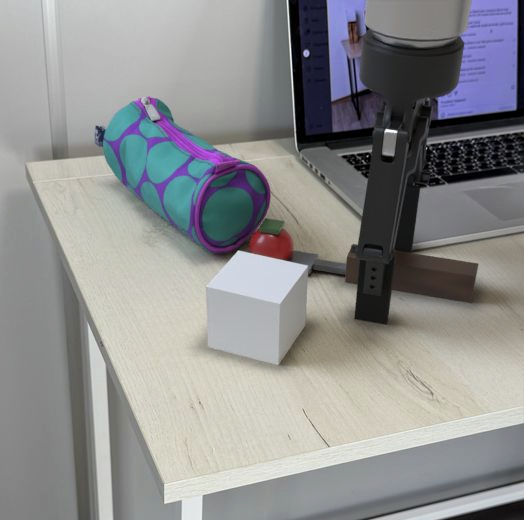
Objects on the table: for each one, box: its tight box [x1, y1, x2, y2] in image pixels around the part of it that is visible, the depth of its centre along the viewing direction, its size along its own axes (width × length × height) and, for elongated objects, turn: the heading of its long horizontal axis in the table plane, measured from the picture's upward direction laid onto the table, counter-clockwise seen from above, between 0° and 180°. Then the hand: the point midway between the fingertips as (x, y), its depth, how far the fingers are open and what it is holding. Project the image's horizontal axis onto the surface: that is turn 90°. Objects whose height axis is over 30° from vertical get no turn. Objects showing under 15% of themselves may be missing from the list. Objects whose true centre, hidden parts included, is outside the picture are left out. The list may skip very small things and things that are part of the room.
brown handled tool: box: [247, 217, 479, 304], centre depth 77 cm, size 20×4×4 cm, turn 73°
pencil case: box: [94, 95, 272, 255], centre depth 86 cm, size 21×9×10 cm, turn 33°
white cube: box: [205, 250, 309, 366], centre depth 69 cm, size 6×6×6 cm
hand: (384, 283), depth 78 cm, fingers open, 12 cm apart
